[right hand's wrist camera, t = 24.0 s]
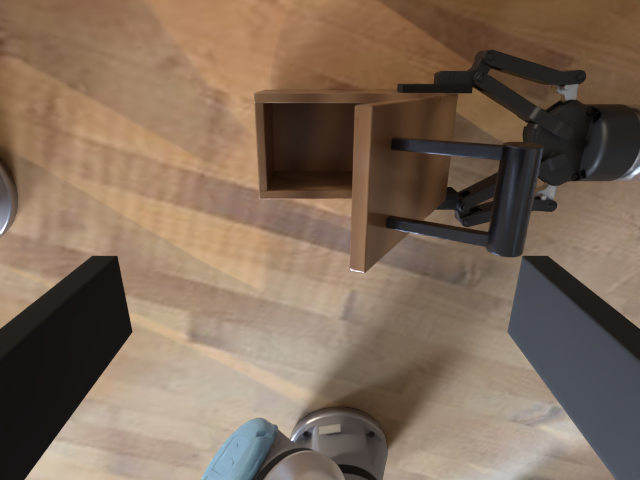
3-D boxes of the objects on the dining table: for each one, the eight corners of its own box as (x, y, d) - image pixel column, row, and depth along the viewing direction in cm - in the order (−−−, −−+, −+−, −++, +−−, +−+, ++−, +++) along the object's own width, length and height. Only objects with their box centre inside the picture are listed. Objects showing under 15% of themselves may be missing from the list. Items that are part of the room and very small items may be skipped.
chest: (268, 176, 49) (259, 199, 40) (264, 89, 46) (253, 93, 37) (414, 175, 50) (438, 198, 41) (421, 90, 46) (449, 93, 37)
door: (348, 269, 26) (508, 309, 21) (354, 104, 22) (547, 112, 18) (434, 199, 40) (538, 214, 36) (445, 93, 37) (563, 96, 32)
